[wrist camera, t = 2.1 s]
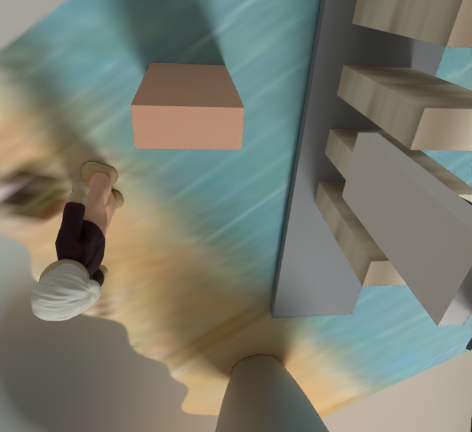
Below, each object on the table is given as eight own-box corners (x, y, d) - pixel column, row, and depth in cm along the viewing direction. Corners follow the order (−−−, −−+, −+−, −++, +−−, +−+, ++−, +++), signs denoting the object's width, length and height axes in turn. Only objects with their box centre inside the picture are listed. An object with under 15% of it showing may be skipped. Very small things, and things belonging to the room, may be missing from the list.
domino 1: (225, 65, 24) (244, 107, 16) (224, 95, 25) (241, 149, 17) (151, 62, 23) (130, 105, 15) (153, 93, 25) (135, 148, 16)
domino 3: (411, 67, 25) (524, 110, 16) (402, 96, 26) (503, 150, 17) (343, 65, 24) (424, 107, 16) (337, 94, 25) (410, 149, 17)
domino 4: (392, 129, 27) (481, 194, 19) (384, 154, 28) (466, 225, 20) (330, 128, 26) (394, 195, 18) (324, 153, 28) (383, 226, 19)
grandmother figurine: (59, 154, 26) (-29, 268, 16) (109, 144, 26) (55, 251, 16) (99, 234, 31) (51, 366, 20) (142, 225, 31) (117, 352, 20)
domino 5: (376, 181, 29) (449, 259, 21) (369, 202, 31) (436, 283, 22) (318, 181, 29) (371, 261, 21) (314, 202, 30) (362, 286, 22)
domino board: (466, -44, 22) (477, -46, 21) (348, 307, 40) (352, 314, 39) (329, -56, 21) (335, -58, 20) (270, 311, 38) (272, 318, 38)
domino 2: (435, -9, 22) (582, -4, 14) (423, 27, 23) (554, 51, 15) (359, -14, 21) (467, -12, 13) (352, 23, 23) (446, 46, 14)
